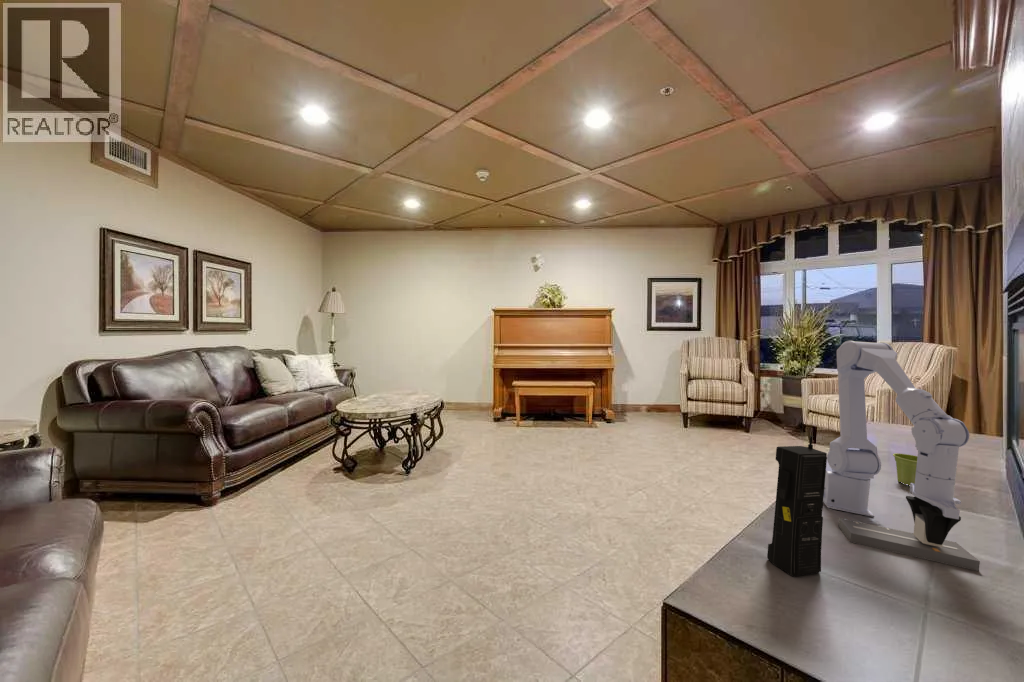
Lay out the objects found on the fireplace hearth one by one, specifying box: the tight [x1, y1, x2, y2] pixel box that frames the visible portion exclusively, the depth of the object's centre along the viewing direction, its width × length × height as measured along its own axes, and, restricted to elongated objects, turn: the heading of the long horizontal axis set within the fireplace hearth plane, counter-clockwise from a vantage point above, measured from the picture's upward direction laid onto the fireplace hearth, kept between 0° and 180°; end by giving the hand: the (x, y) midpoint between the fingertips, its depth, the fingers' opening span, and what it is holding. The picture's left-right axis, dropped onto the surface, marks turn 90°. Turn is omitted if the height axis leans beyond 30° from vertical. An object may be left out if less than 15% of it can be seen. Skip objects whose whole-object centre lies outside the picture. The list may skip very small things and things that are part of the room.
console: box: [838, 517, 981, 572], centre depth 86 cm, size 20×8×2 cm, turn 65°
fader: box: [913, 513, 943, 547], centre depth 84 cm, size 3×4×5 cm
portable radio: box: [766, 435, 828, 577], centre depth 75 cm, size 8×6×25 cm
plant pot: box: [892, 453, 918, 485], centre depth 125 cm, size 9×9×9 cm
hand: (928, 537), depth 84 cm, fingers closed on fader, 4 cm apart
